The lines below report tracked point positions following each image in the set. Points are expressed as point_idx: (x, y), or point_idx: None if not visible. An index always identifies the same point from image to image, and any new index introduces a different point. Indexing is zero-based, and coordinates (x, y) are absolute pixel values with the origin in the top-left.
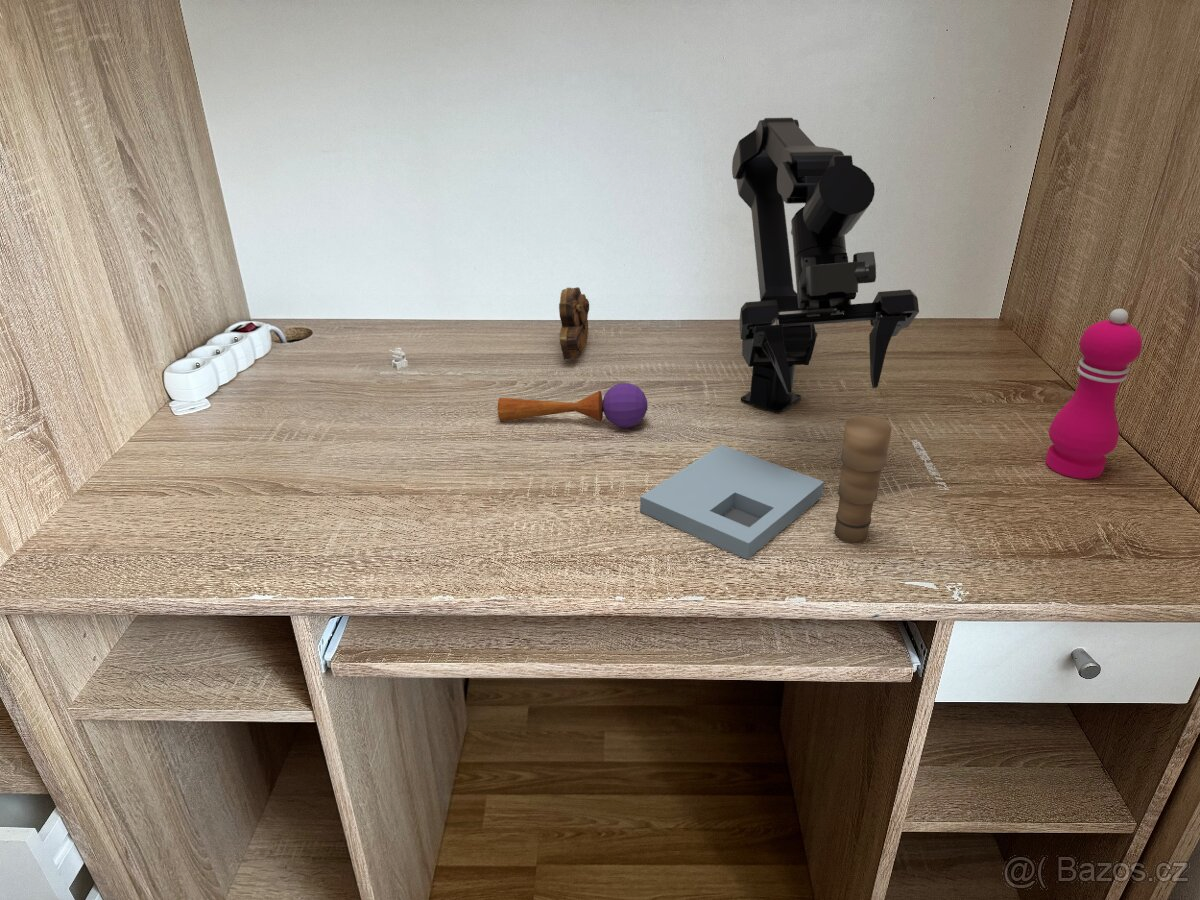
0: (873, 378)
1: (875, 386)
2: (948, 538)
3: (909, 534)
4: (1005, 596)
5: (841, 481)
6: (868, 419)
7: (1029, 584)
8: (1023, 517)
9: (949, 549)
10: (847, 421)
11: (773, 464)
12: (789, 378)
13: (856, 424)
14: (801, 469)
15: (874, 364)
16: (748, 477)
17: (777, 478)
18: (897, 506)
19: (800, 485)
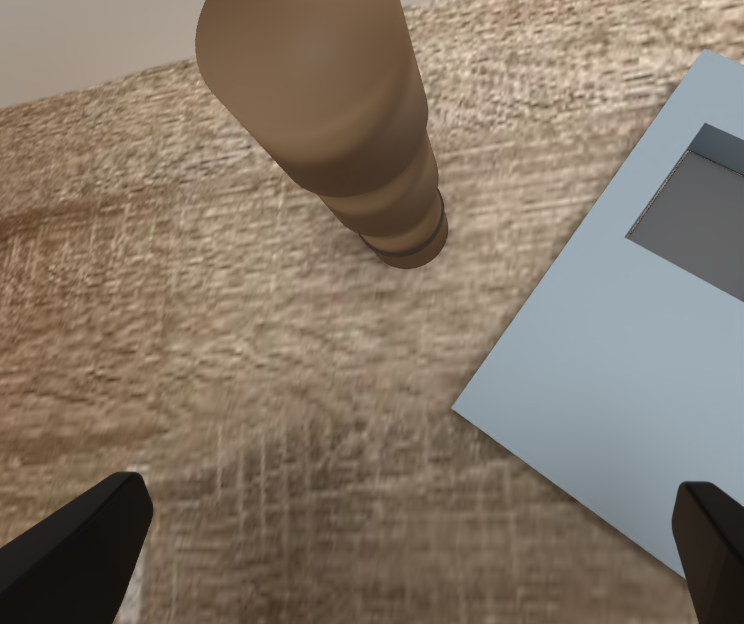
0: (114, 510)
1: (134, 474)
2: (199, 247)
3: (274, 251)
4: (167, 76)
5: (429, 141)
6: (275, 88)
7: (115, 119)
8: (27, 350)
9: (210, 206)
10: (381, 41)
11: (618, 522)
12: (739, 541)
13: (343, 20)
14: (502, 583)
15: (35, 569)
16: (717, 420)
17: (607, 418)
18: (268, 374)
19: (529, 378)
